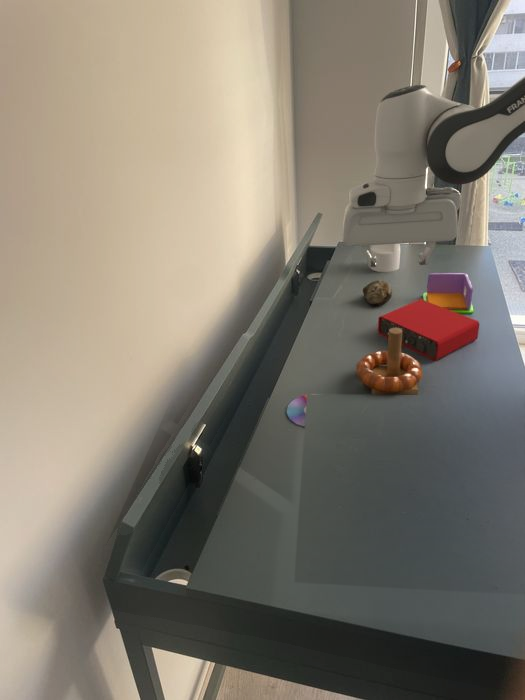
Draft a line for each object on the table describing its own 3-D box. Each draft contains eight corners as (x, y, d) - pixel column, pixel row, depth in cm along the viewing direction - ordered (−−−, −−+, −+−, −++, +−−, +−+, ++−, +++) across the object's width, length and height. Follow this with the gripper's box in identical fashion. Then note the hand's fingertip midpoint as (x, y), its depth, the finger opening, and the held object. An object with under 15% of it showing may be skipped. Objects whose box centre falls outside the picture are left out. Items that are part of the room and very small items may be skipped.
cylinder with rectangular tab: (364, 267, 167) (365, 231, 161) (381, 259, 172) (382, 223, 166) (387, 274, 161) (389, 236, 155) (404, 265, 166) (407, 228, 160)
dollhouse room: (467, 294, 145) (470, 271, 141) (474, 314, 135) (478, 289, 131) (422, 294, 147) (424, 271, 144) (425, 313, 137) (428, 289, 133)
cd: (355, 408, 104) (355, 407, 104) (317, 435, 97) (317, 435, 97) (311, 387, 111) (311, 387, 111) (274, 412, 105) (274, 412, 104)
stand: (411, 371, 114) (415, 319, 108) (417, 395, 106) (422, 341, 100) (369, 371, 115) (371, 320, 109) (372, 395, 107) (374, 341, 101)
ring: (416, 360, 115) (417, 348, 113) (426, 394, 104) (427, 382, 102) (355, 360, 117) (355, 348, 115) (357, 394, 105) (358, 382, 104)
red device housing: (377, 333, 130) (378, 315, 127) (417, 315, 136) (418, 298, 134) (436, 361, 117) (438, 342, 114) (477, 340, 123) (479, 321, 121)
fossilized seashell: (394, 301, 139) (396, 291, 148) (382, 279, 138) (385, 271, 147) (368, 313, 142) (372, 303, 151) (356, 292, 141) (361, 284, 150)
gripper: (458, 181, 93) (451, 256, 100) (341, 190, 96) (342, 261, 103) (466, 190, 88) (458, 268, 95) (342, 198, 91) (343, 274, 97)
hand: (397, 265), depth 99 cm, fingers open, 8 cm apart
